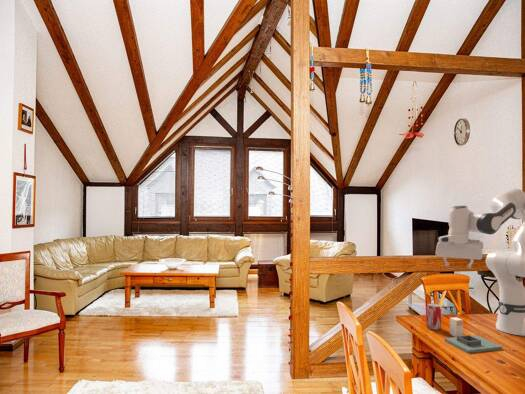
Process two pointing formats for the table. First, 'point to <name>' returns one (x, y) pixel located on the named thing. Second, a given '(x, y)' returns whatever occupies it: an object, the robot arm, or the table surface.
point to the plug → (456, 326)
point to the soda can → (433, 316)
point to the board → (472, 343)
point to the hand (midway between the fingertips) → (458, 267)
